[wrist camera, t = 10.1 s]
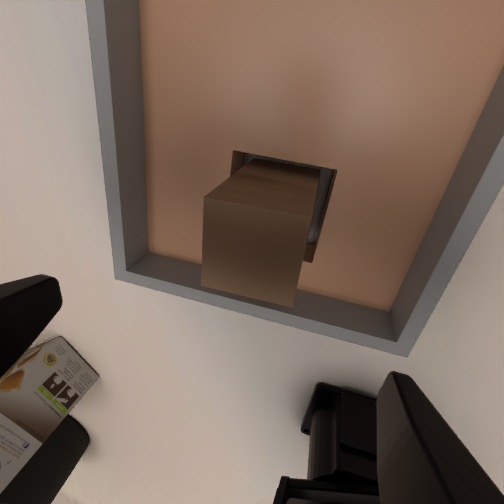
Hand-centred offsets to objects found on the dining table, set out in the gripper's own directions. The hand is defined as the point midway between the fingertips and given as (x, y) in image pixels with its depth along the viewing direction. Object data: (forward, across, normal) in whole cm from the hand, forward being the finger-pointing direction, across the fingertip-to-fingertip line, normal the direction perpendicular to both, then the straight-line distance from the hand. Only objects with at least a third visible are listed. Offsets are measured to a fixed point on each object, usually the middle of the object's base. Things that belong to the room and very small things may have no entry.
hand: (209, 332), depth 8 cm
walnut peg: (+12, 0, 0) cm, 13 cm away
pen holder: (+13, +23, +37) cm, 45 cm away
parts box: (+12, 0, -3) cm, 13 cm away
